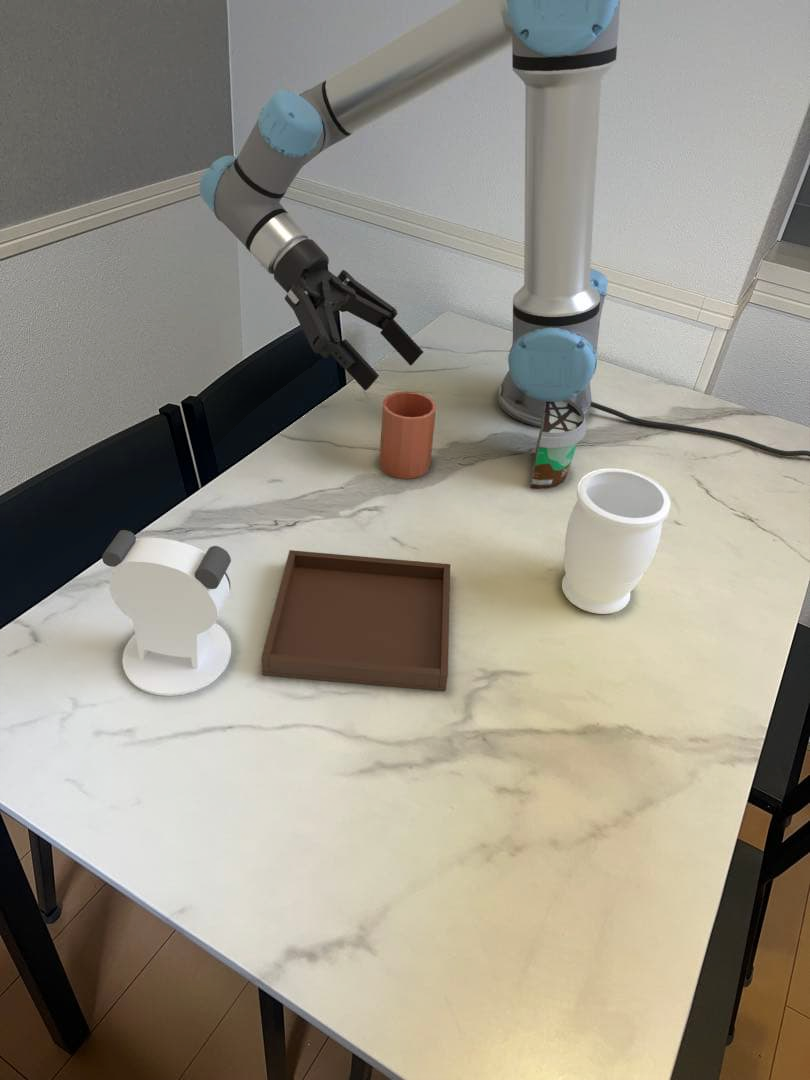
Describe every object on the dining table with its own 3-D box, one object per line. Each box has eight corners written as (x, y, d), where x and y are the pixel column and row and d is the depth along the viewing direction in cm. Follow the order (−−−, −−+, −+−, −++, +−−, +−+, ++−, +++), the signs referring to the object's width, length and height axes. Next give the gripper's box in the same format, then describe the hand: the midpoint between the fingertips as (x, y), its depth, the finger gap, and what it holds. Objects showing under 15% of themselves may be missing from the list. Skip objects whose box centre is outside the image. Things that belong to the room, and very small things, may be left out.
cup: (430, 452, 120) (436, 393, 114) (429, 481, 114) (435, 420, 108) (381, 448, 120) (384, 389, 114) (377, 476, 114) (380, 416, 108)
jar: (586, 552, 104) (612, 456, 95) (654, 594, 99) (689, 497, 89) (535, 588, 98) (558, 490, 89) (605, 635, 93) (638, 536, 83)
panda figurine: (250, 627, 90) (242, 523, 81) (215, 705, 82) (201, 600, 72) (149, 609, 91) (129, 505, 82) (104, 685, 83) (75, 578, 73)
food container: (572, 501, 113) (587, 441, 106) (529, 493, 113) (541, 433, 107) (576, 454, 122) (590, 396, 116) (536, 447, 123) (547, 390, 116)
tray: (448, 579, 98) (450, 563, 97) (445, 691, 85) (448, 675, 83) (290, 565, 99) (289, 549, 97) (262, 675, 85) (260, 658, 83)
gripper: (324, 264, 122) (418, 366, 123) (222, 292, 103) (334, 413, 103) (351, 226, 118) (448, 332, 118) (250, 248, 98) (367, 375, 98)
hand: (395, 370), depth 110 cm, fingers open, 13 cm apart
